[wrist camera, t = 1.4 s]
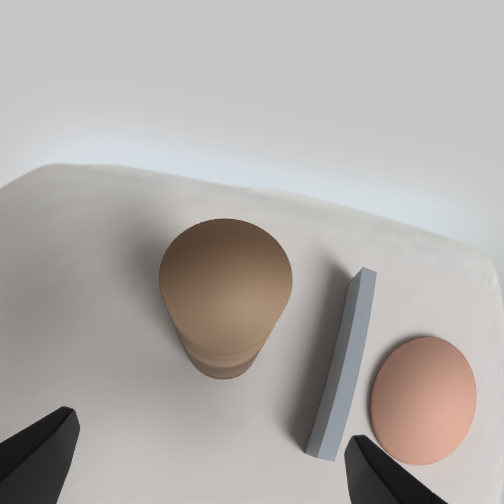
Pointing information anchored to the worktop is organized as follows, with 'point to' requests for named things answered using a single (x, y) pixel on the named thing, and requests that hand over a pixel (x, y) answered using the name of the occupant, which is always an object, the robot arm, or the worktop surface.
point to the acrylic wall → (343, 368)
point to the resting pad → (423, 401)
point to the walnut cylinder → (224, 292)
